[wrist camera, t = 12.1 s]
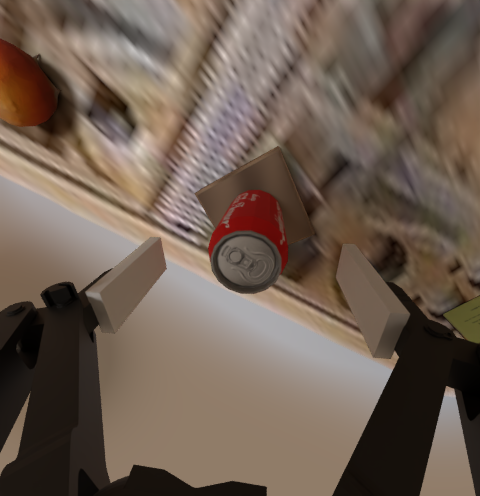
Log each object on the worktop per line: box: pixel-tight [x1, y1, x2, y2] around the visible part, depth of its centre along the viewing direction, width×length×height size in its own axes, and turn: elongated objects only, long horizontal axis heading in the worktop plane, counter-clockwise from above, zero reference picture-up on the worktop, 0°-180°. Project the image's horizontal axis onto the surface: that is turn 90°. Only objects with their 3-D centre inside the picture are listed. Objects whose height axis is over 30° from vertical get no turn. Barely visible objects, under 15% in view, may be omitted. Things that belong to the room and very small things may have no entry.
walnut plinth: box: [195, 146, 315, 245], centre depth 28 cm, size 11×11×4 cm
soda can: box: [208, 190, 288, 294], centre depth 21 cm, size 6×6×12 cm
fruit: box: [0, 39, 61, 127], centre depth 24 cm, size 8×8×8 cm
